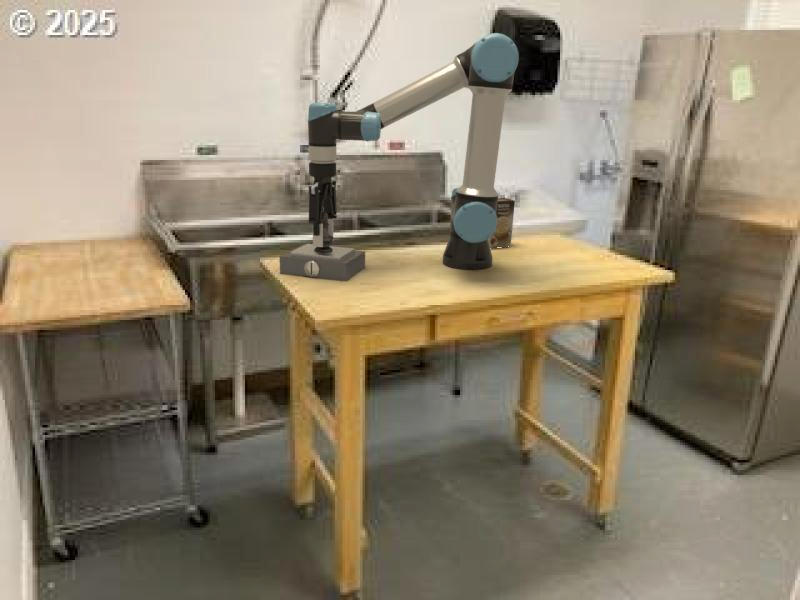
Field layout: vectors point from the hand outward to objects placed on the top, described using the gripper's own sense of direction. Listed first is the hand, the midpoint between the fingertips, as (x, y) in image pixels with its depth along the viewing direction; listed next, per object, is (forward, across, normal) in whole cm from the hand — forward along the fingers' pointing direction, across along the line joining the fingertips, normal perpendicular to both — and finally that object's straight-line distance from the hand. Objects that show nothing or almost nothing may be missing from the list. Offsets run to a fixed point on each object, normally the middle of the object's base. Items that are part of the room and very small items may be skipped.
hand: (323, 243), depth 190 cm
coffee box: (+8, -50, +41) cm, 66 cm away
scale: (+8, 0, 0) cm, 8 cm away
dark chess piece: (+2, 0, 0) cm, 2 cm away
